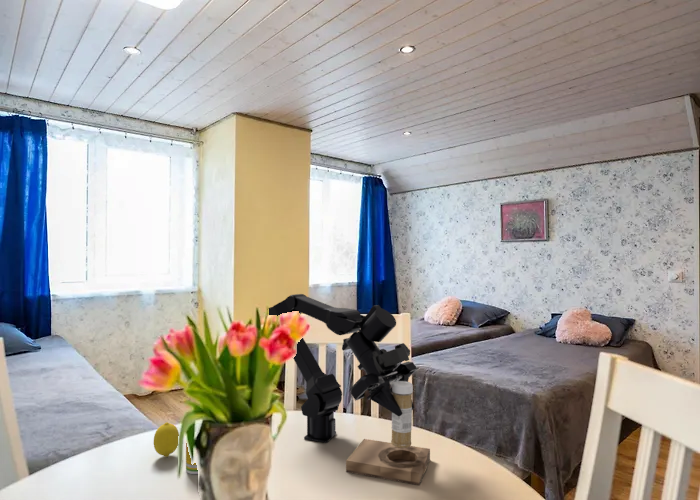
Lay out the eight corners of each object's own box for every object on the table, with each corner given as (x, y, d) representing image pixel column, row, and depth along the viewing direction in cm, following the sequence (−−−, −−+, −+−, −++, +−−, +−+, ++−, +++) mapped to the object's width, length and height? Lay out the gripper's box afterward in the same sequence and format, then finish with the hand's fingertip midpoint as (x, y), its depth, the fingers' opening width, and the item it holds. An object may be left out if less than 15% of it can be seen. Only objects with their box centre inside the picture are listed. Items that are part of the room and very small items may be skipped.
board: (346, 471, 94) (346, 460, 94) (364, 449, 106) (364, 438, 106) (420, 485, 89) (420, 473, 89) (431, 459, 100) (430, 448, 100)
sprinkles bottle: (407, 440, 99) (408, 380, 99) (414, 448, 94) (415, 385, 95) (387, 441, 98) (389, 380, 98) (394, 449, 93) (396, 385, 94)
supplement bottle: (203, 476, 93) (203, 430, 93) (180, 473, 94) (181, 428, 94) (216, 464, 98) (216, 420, 98) (194, 462, 99) (194, 419, 99)
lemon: (148, 460, 100) (148, 425, 100) (164, 450, 105) (164, 417, 105) (168, 463, 98) (168, 428, 99) (184, 453, 104) (184, 419, 104)
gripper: (361, 338, 92) (404, 403, 85) (410, 328, 106) (451, 382, 99) (334, 369, 97) (372, 432, 90) (384, 355, 111) (421, 408, 104)
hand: (406, 412), depth 96 cm, fingers closed on sprinkles bottle, 4 cm apart
